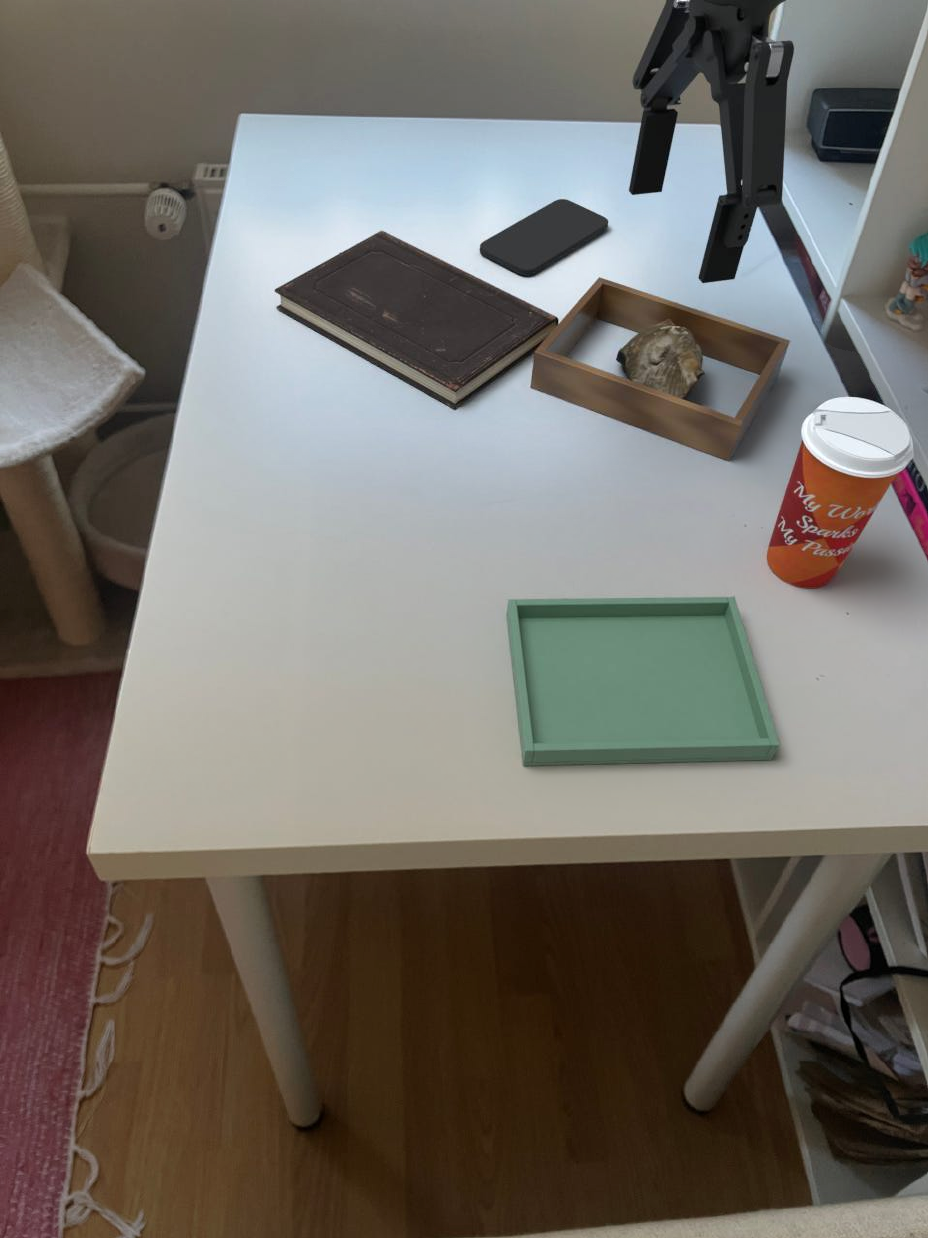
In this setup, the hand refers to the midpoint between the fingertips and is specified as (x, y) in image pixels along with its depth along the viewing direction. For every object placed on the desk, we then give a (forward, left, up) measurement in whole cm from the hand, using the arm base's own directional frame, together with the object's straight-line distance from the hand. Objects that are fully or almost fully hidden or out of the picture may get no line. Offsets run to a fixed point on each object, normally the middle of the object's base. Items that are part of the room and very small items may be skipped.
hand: (678, 233), depth 80 cm
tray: (-12, +31, -17) cm, 37 cm away
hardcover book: (+24, 0, -17) cm, 29 cm away
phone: (+20, -21, -17) cm, 33 cm away
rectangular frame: (0, -4, -17) cm, 17 cm away
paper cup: (-19, +12, -17) cm, 28 cm away
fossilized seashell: (0, -4, -17) cm, 17 cm away
